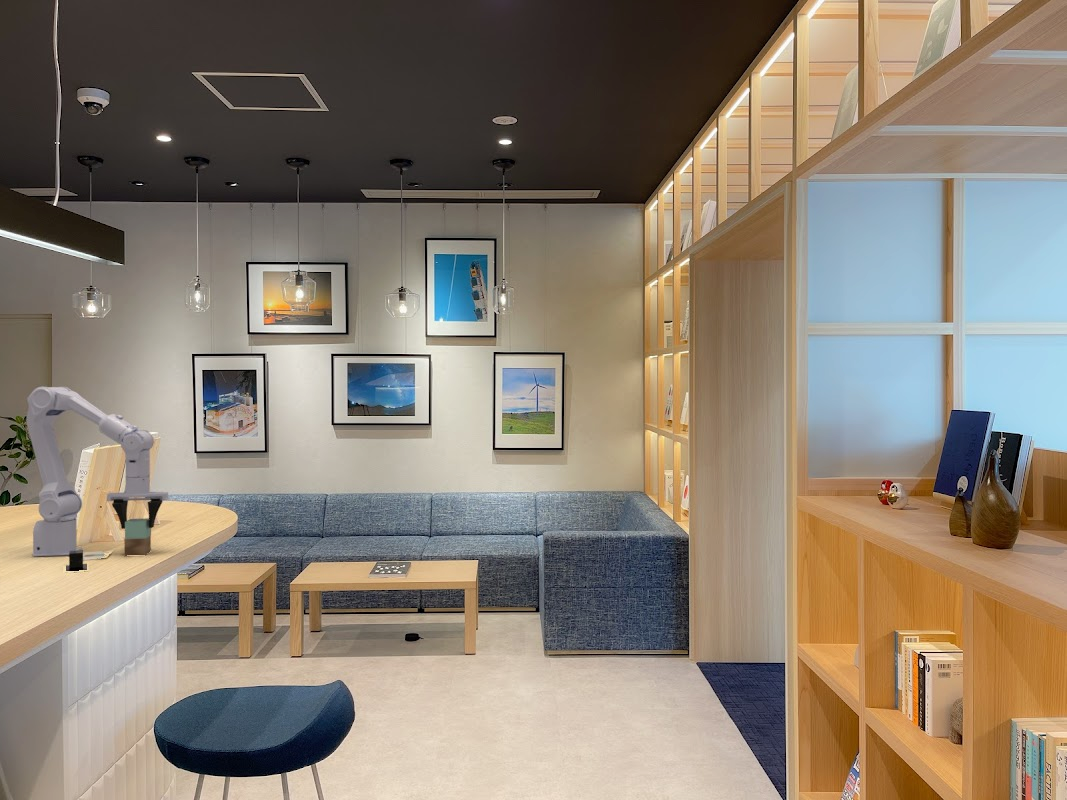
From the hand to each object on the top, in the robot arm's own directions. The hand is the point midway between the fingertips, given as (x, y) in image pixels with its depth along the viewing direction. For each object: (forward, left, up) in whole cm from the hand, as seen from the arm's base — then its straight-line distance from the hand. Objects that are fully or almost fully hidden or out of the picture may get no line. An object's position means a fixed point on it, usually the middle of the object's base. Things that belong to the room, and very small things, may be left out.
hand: (137, 527), depth 207 cm
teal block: (0, 0, -2) cm, 3 cm away
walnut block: (0, 0, -7) cm, 7 cm away
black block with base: (-10, -15, -8) cm, 19 cm away
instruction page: (-10, -1, -7) cm, 12 cm away
